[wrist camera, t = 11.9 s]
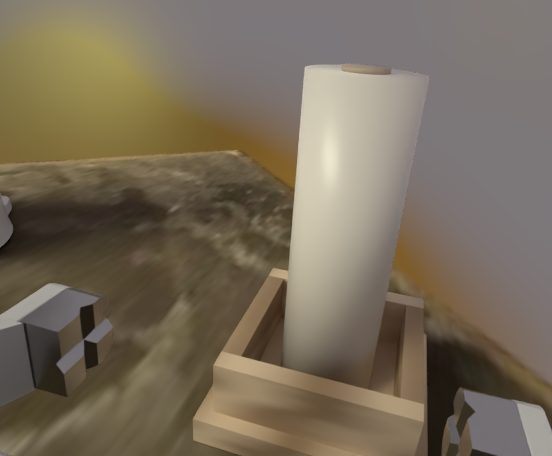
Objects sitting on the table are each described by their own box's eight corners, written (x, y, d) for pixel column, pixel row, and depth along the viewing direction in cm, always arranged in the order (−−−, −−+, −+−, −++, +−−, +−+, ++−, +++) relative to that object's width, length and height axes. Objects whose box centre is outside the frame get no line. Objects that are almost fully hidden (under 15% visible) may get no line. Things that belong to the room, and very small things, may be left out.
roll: (269, 390, 23) (291, 65, 16) (293, 333, 28) (319, 57, 21) (364, 417, 22) (431, 78, 15) (373, 352, 27) (429, 66, 20)
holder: (193, 440, 22) (191, 371, 20) (262, 315, 32) (266, 260, 30) (421, 512, 19) (443, 442, 18) (421, 352, 29) (436, 295, 27)
